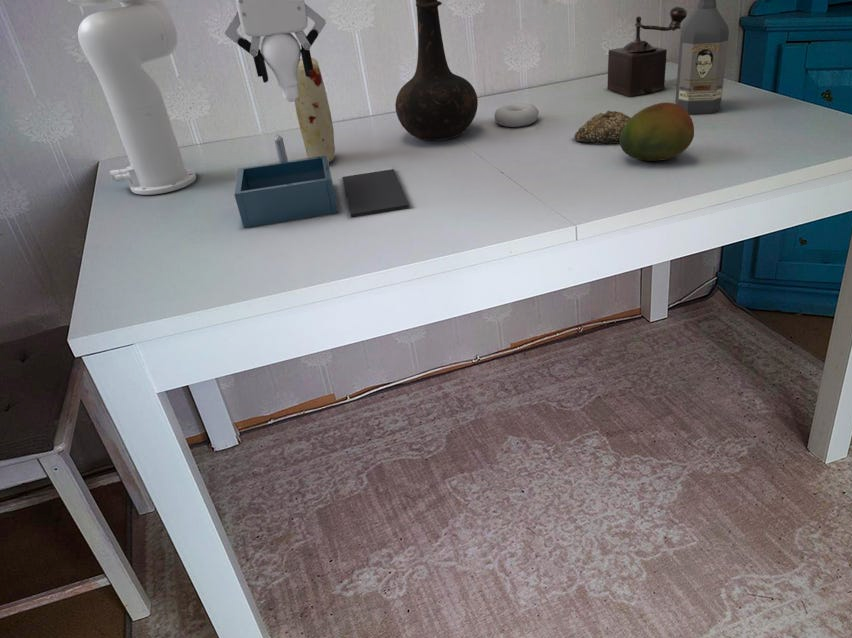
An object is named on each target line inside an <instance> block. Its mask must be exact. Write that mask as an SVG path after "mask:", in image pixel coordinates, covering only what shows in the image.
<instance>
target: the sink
mask: <svg viewBox="0 0 852 638" xmlns="http://www.w3.org/2000/svg"><path fill="white" fill-rule="evenodd" d="M273 142H274V147H275V150H276V155H277V159H278V161H277V162H271V163H266V164H265V163H264V164H259V165H251V166H245V167H238V169H237V176H236V180H235V181H236V182H235V186H234V193H233V195H234V199H235V202H236V206H237V209H238V212H239V216H240V219H241V223H242V226H243V228H244V229H247V228H252V227H260V226H265V225H270V224H277V223H283V222H289V221H296V220H297V221H298V220H303V219H309V218H314V217H315V218H316V217H321V216H326V215H327V216H328V215H334V214H338V213H339V208H338V203H337V197H336V192H335V188H334V182H333V177H332V172H331V168H330V162H328V157H327V155H325V156H318V157H312V158H308V157H306V158H305V157H304V158H299V159H292V160H288V154H287V151H286V145H285V141H284V137H283V136H281V134H279V133H277V134H275V135H274V137H273Z"/></svg>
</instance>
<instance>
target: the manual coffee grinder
mask: <svg viewBox="0 0 852 638" xmlns="http://www.w3.org/2000/svg"><path fill="white" fill-rule="evenodd" d="M687 15H688V12H687V10H686V9H685V8H684V7H681V6H675V7H672V8H671V9H670V11H669V16H670V20H671V21H670V23H669V25H668V26H659V25H647V24H646V25H644V24H642V23H641V22H642V17H641V16H636V18H635V24H634V26H635V39H634V41H630V42H629V43H627V44H626V45H625V46H623V47H618V48H613V49H608V55H607V57H608V58H607V59H608V60H607V87H606V89H607V90H609V91H611V92H613V93H617V94H620V95H622V96H626V97H630V98H632V97H638V96H642V95H647V94H652V93H655V92H658V91H662V90H665V89H666V86H665V85H666V84H665V81H666V69H667V67H666V66H667V53H668V49H667V48H663V47H660V46H659V47H658V46H653V45H652V44H651V43H649V42H648V41H646V40H641V29H643V30H653V31H663V32H669V31H672V32H674V31H676V30H681V29H682V26H681V25H682V24H681V23H682V22H683V21H684V19H686V18H687Z"/></svg>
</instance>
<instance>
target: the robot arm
mask: <svg viewBox="0 0 852 638" xmlns="http://www.w3.org/2000/svg"><path fill="white" fill-rule="evenodd" d="M66 1H67V2H68V3H70V4H72V5H73V6H78V7H91V6H98V5H104V4H109V3H113V2H118V3H119V4H120V5H121V7H115V8H110V9H105V10H100V11H97V12H94V13H92V14H89V15H87V16H86V17H85V18H83V19H82V21H81V22H80V24H79V26H78V29H77V38H78V43H79V45H80V48H81V50H82V53H83V54H84V56H85V58H86V59H87V61H88V63H89V65H90V66H91V68H92V70H93V72H94V73H95V75H96V77H97V80H98V82H99V84H100V87H101V88H102V92H103V93H104V96H105V99H106V102H107V104H108V108H109V110H110V113H111V115H112V118H113V121H114V123H115V126H116V129H117V131H118V134H119V137H120V139H121V143H122V145H123V149H124V151H125V153H126V156H127V159H128V162H129V165H128V166H126V168H123V169H120V168H119V169H111V170H110V172H109V173H110V177H111V179H112V181H116V183H120V182H125V181H129V182H130V183H129V188H130V191H131V192H132V193H133V194H136V195H141V196H152V195H161V194H167V193H171V192H174V191H177V190H182V189H183V188H185V187H188V186H189V185H191V184H192V183H194V182H195V181H196V179H197V174H196V172H195V171H194V170H193V169H191V168H186V166H185V163H184V160H183V156H182V153H181V151H180V148H179V145H178V141H177V138H176V135H175V132H174V129H173V125H172V123H171V119H170V115H169V113H168V110H167V106H166V103H165V101H164V98H163V94H162V92H161V90H160V87H159V86H158V84H157V83H156V81H155V80H154V78H153V77H152V76H151V75H150V74H149V73H148V72H147V71H146V70H145V69H144V67H143V66H142V65H143V64H145V63H148V62H152V61H156V60H160V59H164V58H166V57H169V56H170V55H171V54H173V52H174V51H175V50H176V49H177V46H178V33H177V29H176V25H175V23H174V21H173V18H172V16H171V14H170V12H169V11H168V8H167V6H166V4H165V1H164V0H66ZM235 3H236V8H237V12H236V13H235V15H234V16H233V18H232V20H231V22H230V23H229V25H228V26H227V28H226V29H225V31H224V34H225V36H226V37H227V38H229V39H230V40H231V41H232V42H234V43H236V44H237V45H238V46H239V47H241V48H242V50H244V51H246V52H247V53H248V54H250V56H251V57H252V58H253V61H254V66H255V70H256V74H257V77H258V78H259V77H260V78H262V82H263V83H268V82H269V75H268V71H267V70H268V69H267V66H266V65H267V64H266V62H265V60H264V58H263V56H262V52H261V48H260V45H261V43H260V42H261V37H265V36H268V35H275V34H285V33H291V34H293V33H294V35H295V38H296V39H297V41H298V42H299V44H300V49H301V59H302V60H303V65H304V70H305V75H306V76H307V77H310V71H309V70H314V69H313V64H312V59H311V57H312V55H311V50H310V49H311V48H312V46H313V45H314V43H315V41H316V40H317V38H318V37H319V35H320V33H321V32H322V31H323V29H324V28H325V26H326V24H327V22H326V19H325V17H323V16H321V15H320V14H319V13H318V12H317V11H315V10H314V9H313V8H312V7H311V6H309V5H308V4H307V3H305V0H235ZM308 18H309V19H311V20H312V21H313V22H314V24H313V26H312V28H311V29H310V30H309V32H308V33H307V34H306V33H305V32H304V30H305V29H306V28H308V25H309V23H308ZM239 27H241V29H242V31H243V33H244V35H246V36H248V37H251V40H250V41H249V40H248V39H247V38H245V37H244V36H242V35H241V34H240V33H238V28H239Z"/></svg>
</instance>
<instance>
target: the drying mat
mask: <svg viewBox="0 0 852 638" xmlns="http://www.w3.org/2000/svg"><path fill="white" fill-rule="evenodd" d="M341 178H342V182H343V183H342V184H343V186H344V190H345V191H344V192H345V195H346V200H347V204H348V209H349V213H350V217H351V218H354V217H361V216H367V215H374V214H379V213H386V212H391V211H392V212H393V211H398V210H405V209H409V208H410V204H409V202H408V199H407V197H406V195H405V192H404V190H403V188H402V185H401V183H400V181H399V178H398V176H397V174H396V172H395V169H394V168H390V169H384V170H378V171H372V172H365V173H359V174H352V175H346V176H342V177H341Z"/></svg>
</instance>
